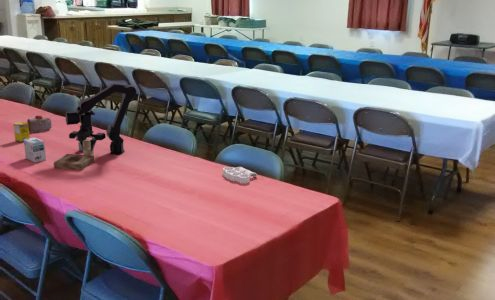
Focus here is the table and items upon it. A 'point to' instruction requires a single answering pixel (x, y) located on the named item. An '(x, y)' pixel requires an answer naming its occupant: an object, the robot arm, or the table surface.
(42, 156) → the light bulb box
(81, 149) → the metal stub
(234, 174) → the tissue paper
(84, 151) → the maple pin
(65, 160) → the walnut sleeve block
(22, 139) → the supplement box
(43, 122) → the grey box with knob
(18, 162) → the table surface
